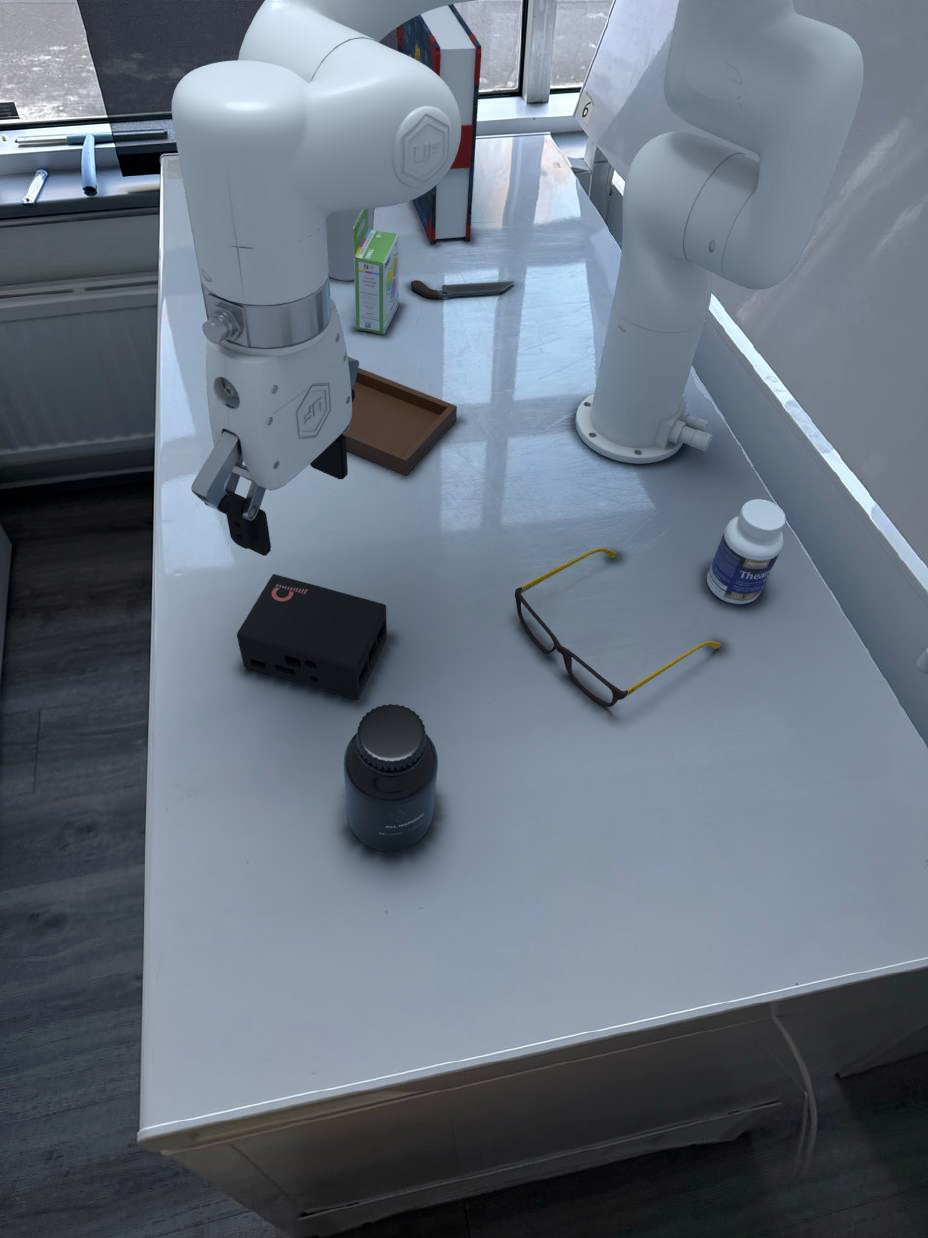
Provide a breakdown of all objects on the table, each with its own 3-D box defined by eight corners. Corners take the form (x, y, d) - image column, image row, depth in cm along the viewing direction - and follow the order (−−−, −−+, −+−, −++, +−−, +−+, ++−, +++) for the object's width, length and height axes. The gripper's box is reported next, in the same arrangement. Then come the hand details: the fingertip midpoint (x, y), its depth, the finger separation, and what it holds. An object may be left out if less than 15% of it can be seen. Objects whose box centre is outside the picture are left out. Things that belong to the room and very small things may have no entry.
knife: (414, 300, 117) (414, 295, 117) (409, 284, 120) (409, 279, 119) (518, 294, 119) (518, 289, 119) (511, 278, 122) (512, 273, 121)
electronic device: (357, 702, 77) (355, 668, 73) (244, 669, 79) (235, 634, 75) (387, 638, 82) (386, 602, 78) (279, 608, 83) (273, 572, 79)
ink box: (385, 336, 112) (384, 232, 102) (355, 330, 112) (350, 227, 102) (399, 306, 116) (399, 204, 106) (369, 301, 117) (366, 199, 106)
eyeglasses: (503, 619, 84) (507, 591, 81) (614, 555, 90) (622, 527, 87) (607, 725, 77) (615, 699, 74) (720, 648, 83) (732, 621, 80)
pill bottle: (728, 613, 86) (759, 542, 78) (694, 575, 89) (722, 503, 81) (771, 595, 88) (806, 524, 80) (737, 558, 91) (768, 487, 83)
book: (393, 164, 142) (391, -22, 123) (436, 161, 143) (440, -23, 124) (427, 245, 126) (431, 47, 107) (474, 241, 128) (486, 45, 109)
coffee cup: (396, 264, 123) (395, 151, 111) (353, 294, 117) (348, 179, 106) (340, 242, 126) (334, 129, 114) (296, 270, 120) (285, 155, 109)
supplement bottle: (402, 870, 68) (402, 794, 59) (329, 824, 70) (319, 744, 61) (450, 802, 72) (458, 720, 62) (380, 760, 74) (378, 675, 64)
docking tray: (456, 420, 102) (457, 405, 101) (406, 475, 96) (406, 460, 94) (346, 377, 106) (345, 362, 105) (291, 427, 100) (289, 411, 98)
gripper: (226, 393, 48) (261, 601, 61) (396, 259, 58) (395, 462, 72) (119, 347, 50) (175, 558, 63) (301, 226, 60) (317, 429, 74)
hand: (291, 507), depth 67 cm, fingers open, 9 cm apart
